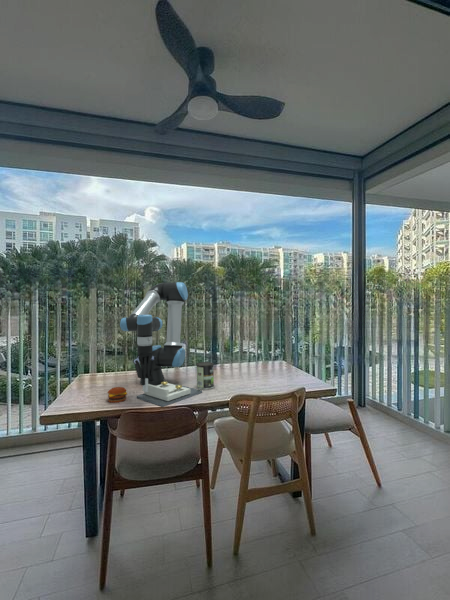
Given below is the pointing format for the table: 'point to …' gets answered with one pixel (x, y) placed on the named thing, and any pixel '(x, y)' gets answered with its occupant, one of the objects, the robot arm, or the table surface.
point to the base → (165, 403)
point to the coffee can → (205, 375)
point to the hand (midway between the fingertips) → (145, 391)
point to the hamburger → (117, 394)
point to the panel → (166, 391)
